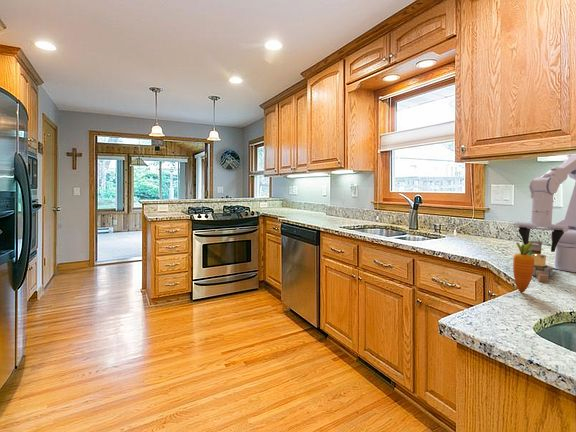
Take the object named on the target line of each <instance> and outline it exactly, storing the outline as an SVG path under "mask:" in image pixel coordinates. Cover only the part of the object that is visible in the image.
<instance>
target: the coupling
mask: <svg viewBox="0 0 576 432" xmlns="http://www.w3.org/2000/svg"><path fill="white" fill-rule="evenodd" d="M553 270H554V269H553V268H552V267H551V265H547V264H545V268H541V267H534V268H533V274H532V277H533V276H534V277H535V278H536V280H538V282H540V283H546V284H547V283H548V282H549V278H550V277H553Z"/></svg>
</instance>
